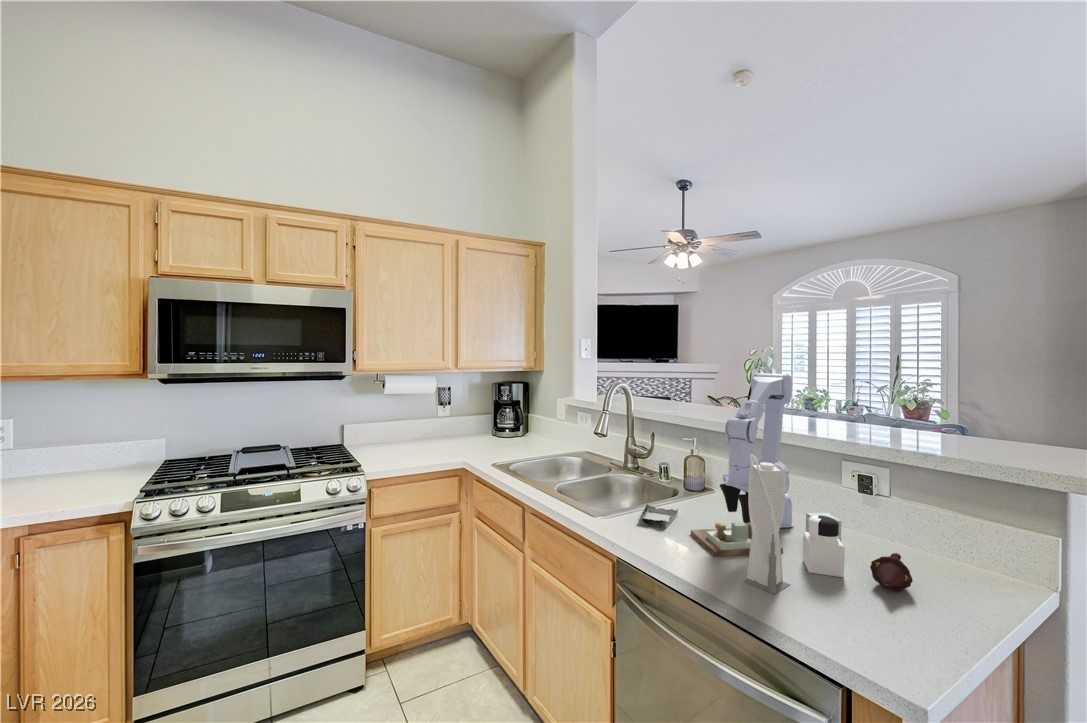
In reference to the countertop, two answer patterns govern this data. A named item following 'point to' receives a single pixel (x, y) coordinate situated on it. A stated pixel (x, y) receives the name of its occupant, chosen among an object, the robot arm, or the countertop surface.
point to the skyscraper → (766, 526)
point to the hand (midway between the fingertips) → (739, 516)
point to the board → (711, 547)
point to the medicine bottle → (823, 547)
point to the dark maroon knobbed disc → (891, 572)
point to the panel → (732, 537)
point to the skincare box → (822, 515)
